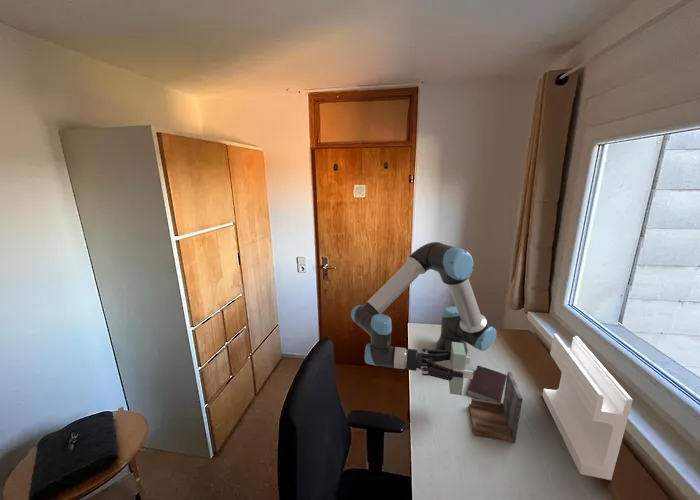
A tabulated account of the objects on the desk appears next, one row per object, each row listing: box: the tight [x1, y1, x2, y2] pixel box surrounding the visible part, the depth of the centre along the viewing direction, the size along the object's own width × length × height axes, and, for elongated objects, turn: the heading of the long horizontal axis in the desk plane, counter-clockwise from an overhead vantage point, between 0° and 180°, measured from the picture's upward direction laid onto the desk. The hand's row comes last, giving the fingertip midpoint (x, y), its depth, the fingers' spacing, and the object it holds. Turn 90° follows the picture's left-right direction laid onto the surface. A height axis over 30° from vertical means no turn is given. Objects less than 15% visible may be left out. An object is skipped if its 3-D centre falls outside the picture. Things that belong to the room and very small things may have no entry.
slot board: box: [468, 371, 524, 444], centre depth 111 cm, size 14×13×18 cm
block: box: [542, 333, 634, 481], centre depth 107 cm, size 35×8×28 cm, turn 166°
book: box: [466, 365, 507, 403], centre depth 132 cm, size 12×19×3 cm, turn 147°
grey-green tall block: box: [448, 342, 466, 396], centre depth 113 cm, size 8×4×16 cm, turn 167°
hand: (471, 367), depth 112 cm, fingers closed on grey-green tall block, 8 cm apart
